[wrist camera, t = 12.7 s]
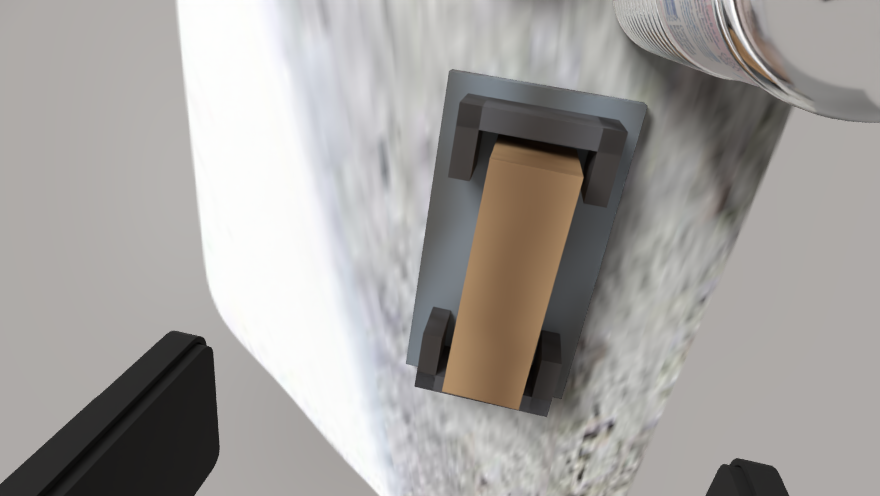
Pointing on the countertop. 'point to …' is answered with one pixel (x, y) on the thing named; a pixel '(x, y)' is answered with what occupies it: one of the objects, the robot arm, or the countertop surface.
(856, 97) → the water bottle
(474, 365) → the tan brown block
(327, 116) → the countertop surface
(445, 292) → the dark grey holder
